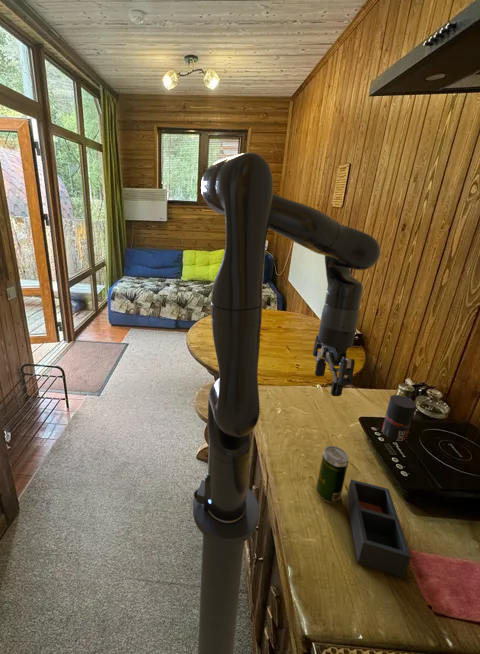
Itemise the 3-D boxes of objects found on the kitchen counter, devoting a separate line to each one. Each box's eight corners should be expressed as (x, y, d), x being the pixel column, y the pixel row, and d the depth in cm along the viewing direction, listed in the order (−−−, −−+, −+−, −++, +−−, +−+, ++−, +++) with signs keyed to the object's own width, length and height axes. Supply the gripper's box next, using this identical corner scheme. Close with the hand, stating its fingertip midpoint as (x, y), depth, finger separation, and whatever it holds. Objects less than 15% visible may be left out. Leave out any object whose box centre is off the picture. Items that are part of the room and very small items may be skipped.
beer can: (345, 498, 73) (354, 458, 69) (329, 507, 70) (338, 466, 66) (326, 480, 77) (334, 442, 73) (311, 489, 75) (318, 449, 71)
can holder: (357, 563, 59) (363, 542, 58) (346, 497, 73) (350, 479, 71) (403, 577, 57) (411, 557, 55) (383, 507, 71) (388, 488, 69)
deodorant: (391, 454, 86) (403, 409, 81) (374, 439, 91) (385, 396, 86) (408, 451, 87) (421, 406, 82) (390, 436, 93) (402, 393, 88)
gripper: (309, 312, 77) (300, 370, 82) (338, 336, 63) (325, 403, 68) (338, 312, 77) (328, 369, 82) (373, 336, 63) (358, 402, 69)
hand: (327, 384), depth 75 cm, fingers open, 8 cm apart
